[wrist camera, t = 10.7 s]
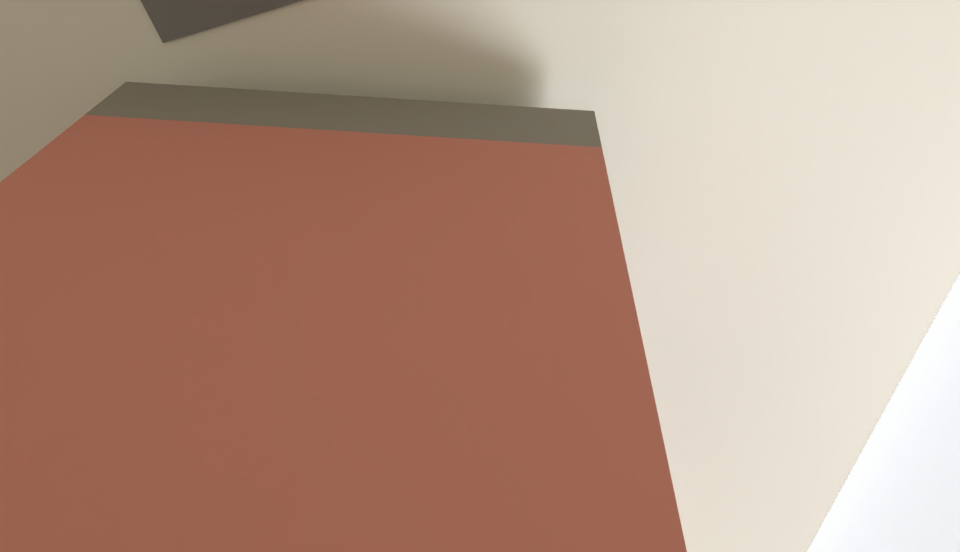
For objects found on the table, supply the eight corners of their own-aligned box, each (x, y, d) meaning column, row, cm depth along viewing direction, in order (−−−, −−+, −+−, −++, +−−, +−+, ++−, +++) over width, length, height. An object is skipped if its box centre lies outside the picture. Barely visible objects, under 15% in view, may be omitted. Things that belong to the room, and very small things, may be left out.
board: (696, 672, 16) (708, 733, 15) (108, 620, 16) (80, 677, 15) (1496, -1001, 4) (1797, -1243, 3) (-647, -1163, 4) (-1000, -1450, 3)
